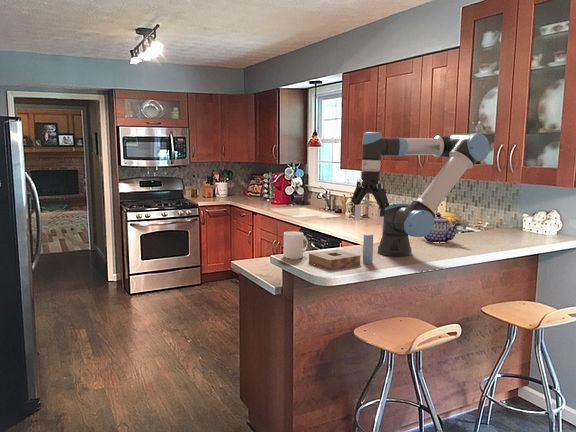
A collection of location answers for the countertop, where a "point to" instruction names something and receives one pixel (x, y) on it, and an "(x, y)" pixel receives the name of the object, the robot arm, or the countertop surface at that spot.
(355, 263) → the board
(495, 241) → the countertop surface
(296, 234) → the mug
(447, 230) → the teapot
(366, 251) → the dowel
